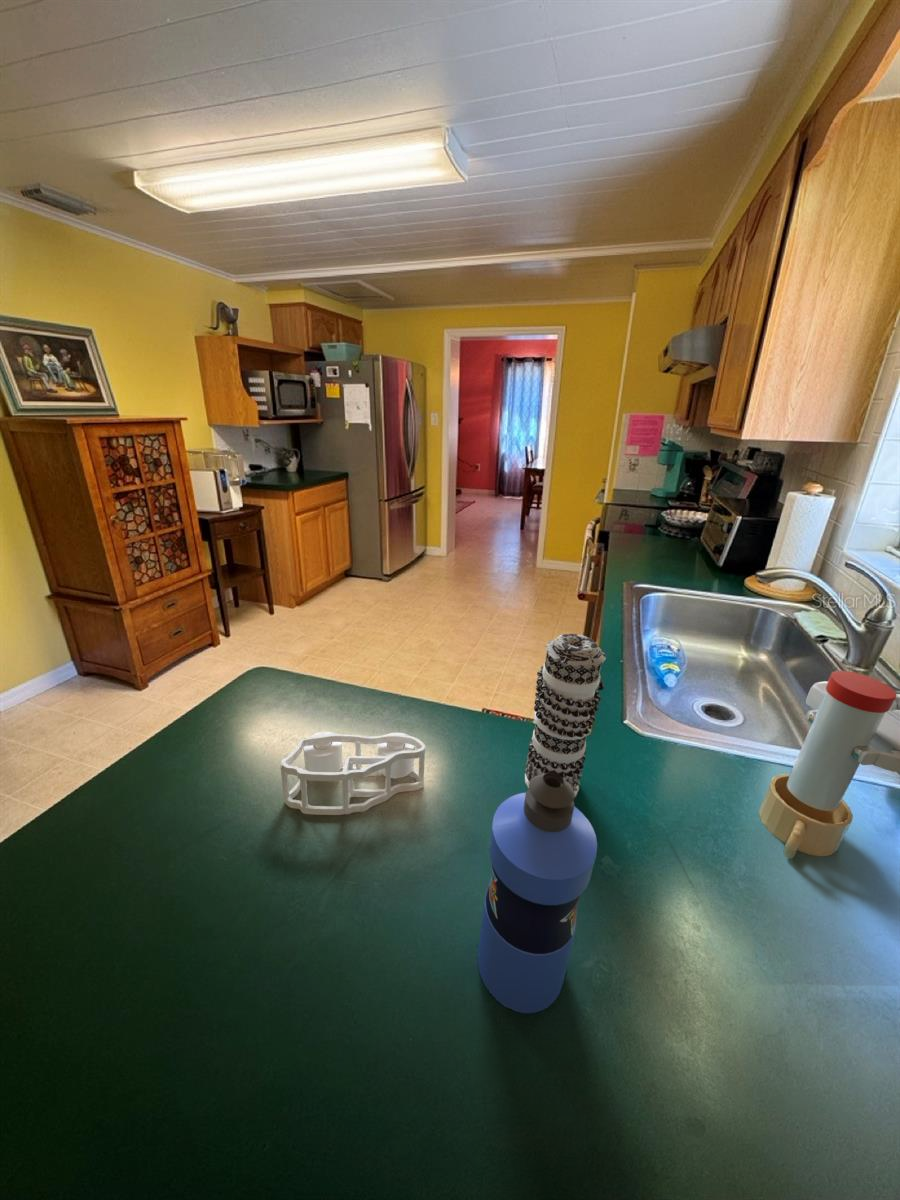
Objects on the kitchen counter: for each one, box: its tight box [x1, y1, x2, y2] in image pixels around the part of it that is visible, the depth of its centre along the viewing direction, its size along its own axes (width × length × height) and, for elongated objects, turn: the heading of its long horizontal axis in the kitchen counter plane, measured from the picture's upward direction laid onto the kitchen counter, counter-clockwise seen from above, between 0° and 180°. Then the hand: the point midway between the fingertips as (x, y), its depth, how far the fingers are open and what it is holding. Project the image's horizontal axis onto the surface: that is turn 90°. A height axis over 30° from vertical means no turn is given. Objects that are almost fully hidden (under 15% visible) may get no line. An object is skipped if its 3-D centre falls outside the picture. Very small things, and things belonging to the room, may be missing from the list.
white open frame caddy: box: [280, 731, 427, 816], centre depth 70 cm, size 20×11×7 cm, turn 93°
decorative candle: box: [524, 633, 607, 799], centre depth 69 cm, size 9×9×25 cm
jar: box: [787, 670, 896, 811], centre depth 62 cm, size 6×6×18 cm
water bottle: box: [477, 772, 598, 1014], centre depth 45 cm, size 9×9×25 cm
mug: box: [758, 773, 854, 859], centre depth 66 cm, size 12×9×6 cm
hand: (832, 735), depth 62 cm, fingers closed on jar, 6 cm apart
